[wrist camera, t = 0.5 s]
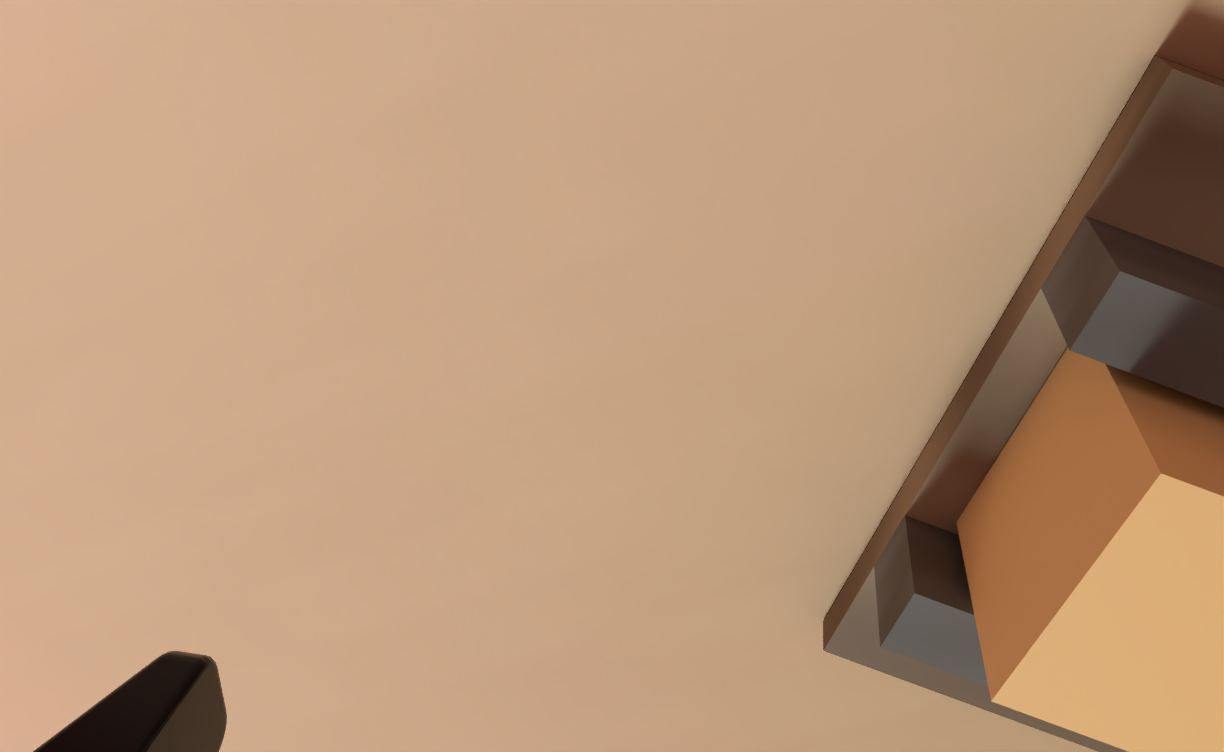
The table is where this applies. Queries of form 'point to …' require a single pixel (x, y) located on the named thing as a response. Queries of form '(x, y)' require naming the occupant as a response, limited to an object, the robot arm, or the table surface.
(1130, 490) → the block
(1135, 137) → the chute
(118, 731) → the robot arm
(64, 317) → the table surface
